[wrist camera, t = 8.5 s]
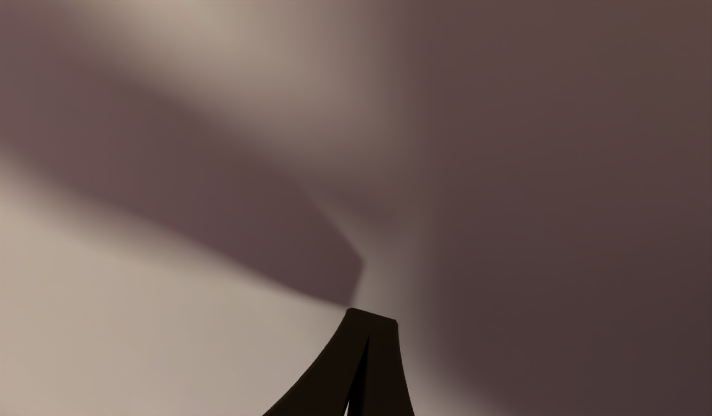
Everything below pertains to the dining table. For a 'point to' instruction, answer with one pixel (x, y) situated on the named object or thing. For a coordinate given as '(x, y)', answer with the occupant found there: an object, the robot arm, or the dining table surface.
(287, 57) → the dining table surface
